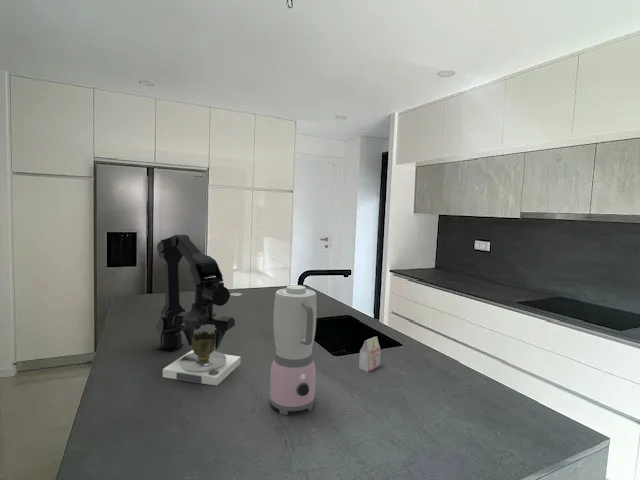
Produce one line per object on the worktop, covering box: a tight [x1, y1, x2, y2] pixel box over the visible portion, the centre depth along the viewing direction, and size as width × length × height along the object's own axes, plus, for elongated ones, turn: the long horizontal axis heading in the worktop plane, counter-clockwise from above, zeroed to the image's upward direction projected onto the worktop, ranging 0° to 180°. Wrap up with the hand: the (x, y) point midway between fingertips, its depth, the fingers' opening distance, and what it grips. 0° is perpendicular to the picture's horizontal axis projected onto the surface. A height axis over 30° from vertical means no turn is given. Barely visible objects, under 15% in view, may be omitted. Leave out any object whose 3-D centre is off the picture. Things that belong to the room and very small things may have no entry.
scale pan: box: [180, 350, 226, 372], centre depth 118 cm, size 14×14×1 cm
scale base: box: [162, 349, 242, 386], centre depth 118 cm, size 18×16×3 cm
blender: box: [269, 284, 318, 416], centre depth 98 cm, size 16×12×32 cm
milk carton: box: [358, 336, 382, 373], centre depth 125 cm, size 4×7×10 cm, turn 136°
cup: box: [191, 330, 216, 361], centre depth 117 cm, size 7×7×8 cm
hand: (203, 347), depth 118 cm, fingers open, 9 cm apart
